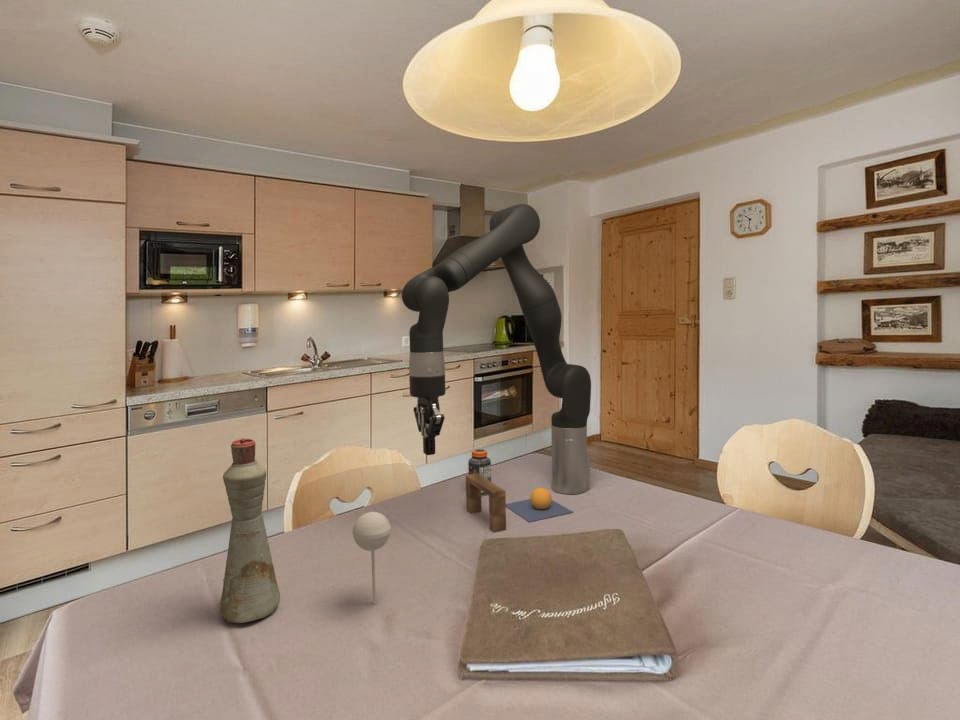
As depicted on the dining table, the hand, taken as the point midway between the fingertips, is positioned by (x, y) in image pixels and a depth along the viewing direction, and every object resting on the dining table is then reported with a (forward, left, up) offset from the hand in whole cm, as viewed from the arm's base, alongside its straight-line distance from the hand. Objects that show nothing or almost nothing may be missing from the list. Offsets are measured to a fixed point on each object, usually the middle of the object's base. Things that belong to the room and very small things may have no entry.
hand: (429, 453), depth 108 cm
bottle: (+36, +15, -17) cm, 43 cm away
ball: (-28, 0, -14) cm, 31 cm away
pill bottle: (-20, -17, -17) cm, 31 cm away
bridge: (-13, 0, -17) cm, 21 cm away
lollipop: (+18, +22, -17) cm, 33 cm away
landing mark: (-27, 0, -17) cm, 32 cm away
